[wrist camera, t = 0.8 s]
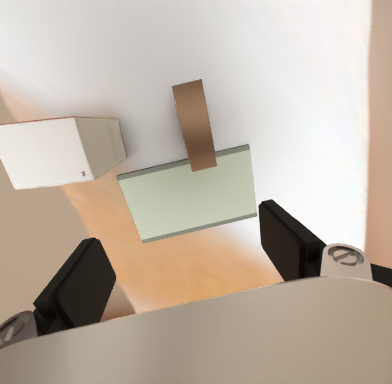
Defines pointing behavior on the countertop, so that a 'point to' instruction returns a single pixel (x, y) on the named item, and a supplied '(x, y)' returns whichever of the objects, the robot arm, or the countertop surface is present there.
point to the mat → (190, 195)
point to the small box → (60, 150)
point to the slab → (195, 124)
